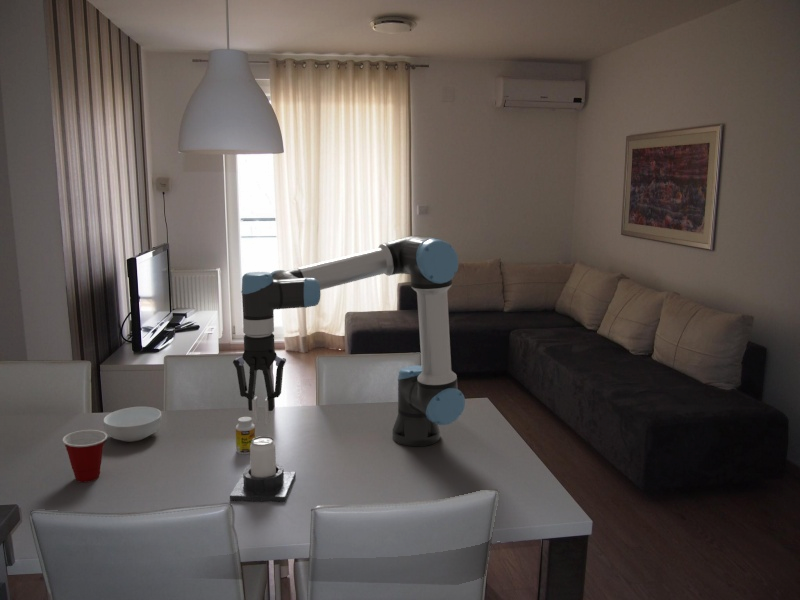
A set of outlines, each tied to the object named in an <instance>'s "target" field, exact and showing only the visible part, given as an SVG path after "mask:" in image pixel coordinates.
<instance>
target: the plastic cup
mask: <svg viewBox="0 0 800 600" xmlns="http://www.w3.org/2000/svg"><path fill="white" fill-rule="evenodd" d="M107 438H108V434H107V432H106V431H102V430H97V429H83V430H82V429H81V430H78V431H77V430H76V431H74V432H70V433H67V434H65V436H63V438H62V442H63V444H64V446H65V448H66V452H67V455H68V459H69V462H70V466H71V470H72V472H73V474H74V478H75V480H76V482H78V481H79V483H88V482H89V481H90V482H93V481H95V480H97V479H98V478H99V477H100V474H101V466H102V460H103V451H104V445H105V442H106V440H107ZM90 482H89V483H90Z"/></svg>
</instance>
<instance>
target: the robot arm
mask: <svg viewBox="0 0 800 600" xmlns="http://www.w3.org/2000/svg"><path fill="white" fill-rule="evenodd" d="M458 269H459V256H458V254H457V250H455V248H454V247H453V246H452V245H451V244H450V243H449V242H447V241H444V240H443V239H441V238H437V237H430V236H429V237H428V236H427V237H426V236H423V235H410V236H406V237H402V238H399V239H395V240H392V241H389V242H384V243H381V244H379V246H378V247H377V248H375V249H369V250H366V251H361V252H357V253H354V254H350V255H346V256H340V257H337V258H333V259H329V260H324V261H321V262H318V263H313V264H308V265H304V266H301V267H298V268H293V269H288V270H282V269H279V270H274V271H272V272H269V271H268V272H267V271H252V272H251V271H250V272H247V273H244V274H243V275H242V278H241V291H240V293H241V299H242V300H241V302H242V327H243V328H242V330H243V334H244V336H243V353H242V355H241V356H239V357H236V358H235V359H233V361H232V364H233V365H234V367H235V370H236V375H237V382H238V387H239V395H240V397H241V398H242V397H243V398H246V399H247V406H248V411H251V413H252V423H253V424H254V425H257V423H258V422H259V403H258V402H259V401H258V400H259V399H258V397H259V396H255V395H256V386H257V385H256V382H257V373H258V371H259V370H260V371H262V374H263V378H264V384H265V391H266V397H265V399H264V418H265V422H264V423H265V424H264V425H270V423H271V421H272V420H271V417H272V416H271V415H272V413H271V412H273V410H274V408H275V398H279V397H280V395H281V394H282V385H283V384H282V383H283V376H284V367H285V364H286V362H287V359H286V357H283V358H281V357H279V356H278V355H277V352H276V350H275V335H274V332H275V323H274V321H275V318H274V317H275V316H274V310H284V309H286V310H287V309H299V308H305V309H307V308H310V307H317V305H319V303H320V302H321V290H326V289H331V288H334V287H337V286H341V285H346V284H348V283H352V282H353V283H354V282H357V281H361V280H364V279H365V280H366V279H369V278H372V277H375V276H380V275H384V274H385V275H386V276H388V277H389V276H394V275H398V274H399V275H402V274H403V275H410V287H411V289H412V290H413V291H415V292H416V299H417V312H418V313H417V314H418V327H419V328H418V330H419V345H420V359H421V365H409V366H404V367H402V368H400V369H399V371H398V377H397V416H396V419H395V420H394V421H395V422H394V424H393V428H392V440H394V441H395V442H396V443H398V444H400V445H403V446H407V447H426V446H431V445H434V444H436V443H437V442H439V440H440V439H441V431H440V430H441V429H440V427H439V426H449V425H450V424H452V423H455V422H456V421H457V420H458V419H459V417H460V416H462V414H463V412H464V410H465V406H466V398H465V395H464V394H463V392H462V391H461V390H460V389H458V377H457V376H458V375H457V374H456V372H454V371H453V370H452V357H451V355H452V354H451V339H450V337H451V336H450V321H449V320H450V319H449V318H450V317H449V304H448V302H449V301H448V291H449V290H450V288H452V286H453V278H454V277H455V274H457V272H458ZM274 362H275V366H276V373H275V384H274V386H273V378H272V371H271V369H272V368H271V366H272V365H273V363H274ZM245 364H247V366H248V367H249V379H248V385H247V379H246V372H245V366H244V365H245Z"/></svg>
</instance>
